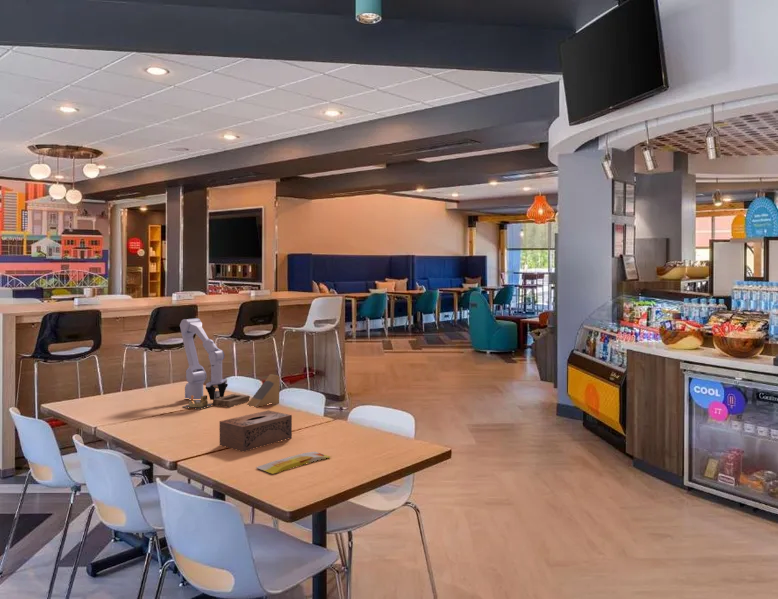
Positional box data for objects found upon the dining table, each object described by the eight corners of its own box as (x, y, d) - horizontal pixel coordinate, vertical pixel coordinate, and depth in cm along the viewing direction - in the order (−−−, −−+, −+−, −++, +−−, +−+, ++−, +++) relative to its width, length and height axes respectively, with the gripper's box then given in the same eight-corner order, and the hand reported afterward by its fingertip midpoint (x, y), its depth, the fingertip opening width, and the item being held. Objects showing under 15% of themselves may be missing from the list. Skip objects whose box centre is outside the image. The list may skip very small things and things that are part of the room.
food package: (272, 470, 212) (255, 464, 219) (272, 477, 212) (255, 470, 219) (331, 453, 232) (314, 448, 239) (331, 459, 232) (314, 454, 239)
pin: (212, 402, 328) (212, 391, 328) (216, 401, 331) (216, 390, 331) (217, 403, 327) (217, 392, 327) (220, 402, 330) (220, 391, 330)
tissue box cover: (243, 452, 240) (243, 426, 239) (219, 445, 249) (219, 421, 248) (291, 438, 260) (291, 415, 260) (268, 433, 269) (268, 410, 269)
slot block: (212, 405, 323) (212, 399, 323) (232, 399, 337) (232, 394, 337) (230, 407, 318) (229, 401, 318) (249, 401, 333) (249, 395, 333)
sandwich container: (245, 405, 324) (245, 376, 323) (270, 401, 335) (270, 373, 334) (254, 407, 318) (254, 378, 317) (279, 403, 329) (279, 375, 328)
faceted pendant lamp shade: (185, 405, 317) (185, 398, 317) (199, 402, 326) (199, 394, 326) (199, 407, 313) (199, 399, 313) (212, 403, 323) (212, 396, 322)
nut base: (181, 407, 317) (181, 397, 316) (196, 403, 327) (196, 394, 326) (199, 409, 312) (199, 399, 312) (213, 405, 322) (213, 396, 322)
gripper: (213, 375, 320) (213, 401, 321) (231, 371, 333) (231, 396, 334) (202, 374, 323) (203, 400, 324) (221, 370, 336) (221, 395, 337)
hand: (216, 398), depth 329 cm, fingers open, 7 cm apart
